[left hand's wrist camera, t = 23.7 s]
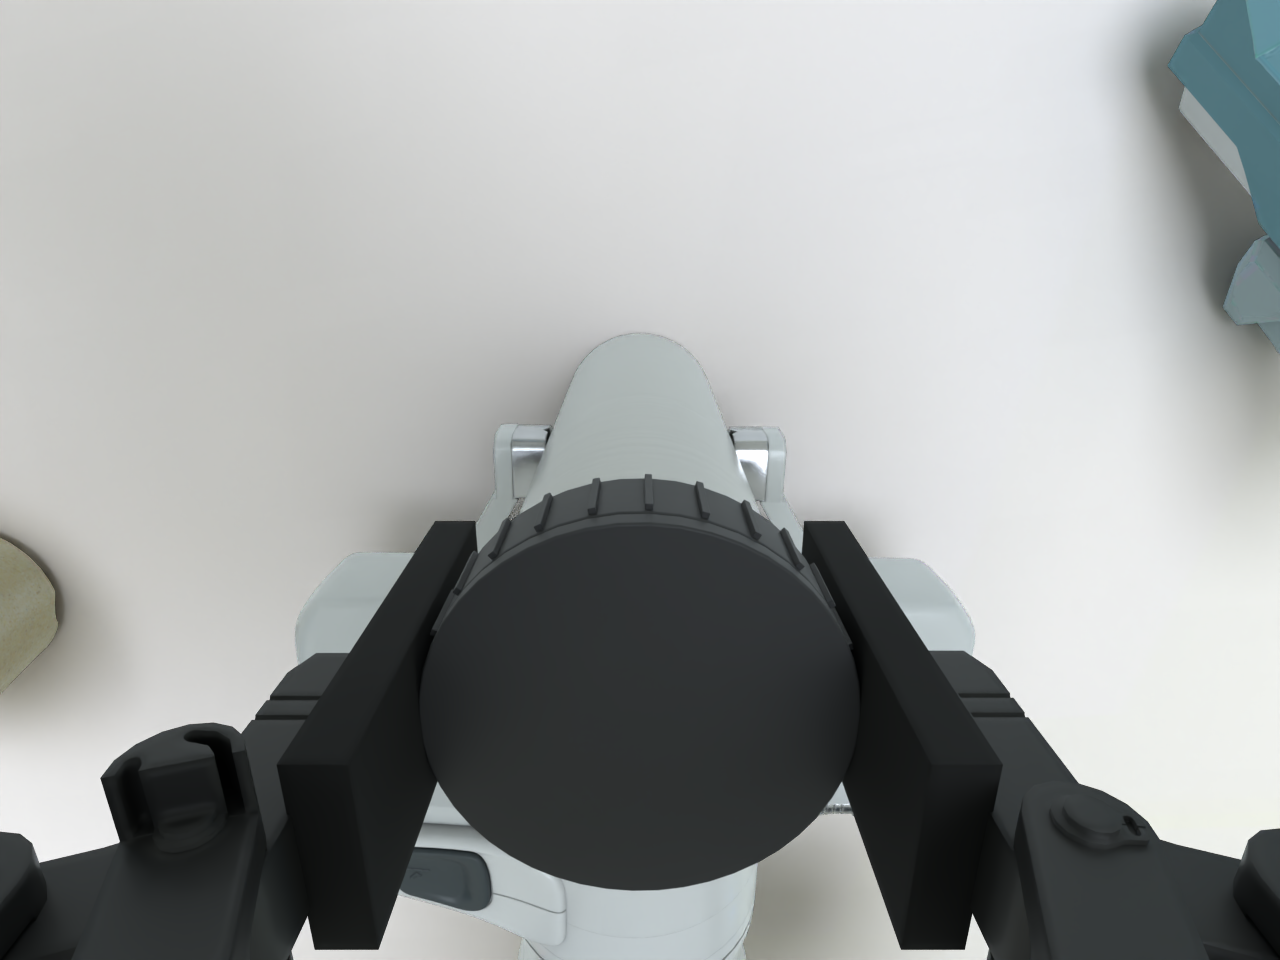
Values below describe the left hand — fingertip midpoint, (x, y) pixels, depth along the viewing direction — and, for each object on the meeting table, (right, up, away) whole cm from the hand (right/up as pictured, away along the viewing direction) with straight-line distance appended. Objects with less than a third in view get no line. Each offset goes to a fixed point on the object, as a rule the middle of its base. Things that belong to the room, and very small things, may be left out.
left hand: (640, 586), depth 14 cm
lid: (0, -1, -4) cm, 4 cm away
